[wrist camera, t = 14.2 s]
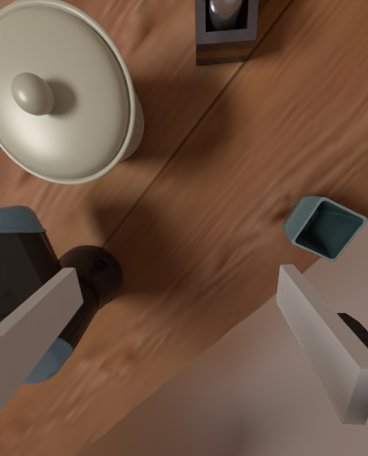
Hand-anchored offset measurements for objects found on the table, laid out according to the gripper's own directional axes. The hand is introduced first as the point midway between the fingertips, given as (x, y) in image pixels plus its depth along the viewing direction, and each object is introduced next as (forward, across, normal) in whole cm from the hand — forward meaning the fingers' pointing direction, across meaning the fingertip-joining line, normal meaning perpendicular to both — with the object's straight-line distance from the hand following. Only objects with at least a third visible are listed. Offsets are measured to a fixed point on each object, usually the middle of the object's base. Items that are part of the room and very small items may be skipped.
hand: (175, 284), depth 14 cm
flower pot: (+31, +23, -5) cm, 39 cm away
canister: (+31, -14, +14) cm, 37 cm away
